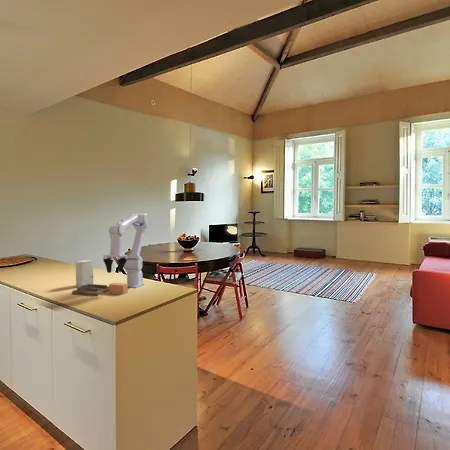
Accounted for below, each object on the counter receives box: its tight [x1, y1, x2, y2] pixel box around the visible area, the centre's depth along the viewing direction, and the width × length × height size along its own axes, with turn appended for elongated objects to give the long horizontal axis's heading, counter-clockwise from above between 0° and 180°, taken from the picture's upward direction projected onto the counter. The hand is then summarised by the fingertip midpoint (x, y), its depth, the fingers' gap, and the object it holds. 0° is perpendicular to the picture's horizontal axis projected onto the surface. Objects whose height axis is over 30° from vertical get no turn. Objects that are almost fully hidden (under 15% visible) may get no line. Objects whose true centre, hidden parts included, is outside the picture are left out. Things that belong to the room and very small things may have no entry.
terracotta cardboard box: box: [108, 282, 129, 295], centre depth 181 cm, size 4×9×5 cm, turn 73°
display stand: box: [71, 283, 109, 297], centre depth 184 cm, size 14×16×3 cm
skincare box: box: [75, 259, 94, 287], centre depth 198 cm, size 8×6×15 cm
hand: (114, 272), depth 178 cm, fingers open, 7 cm apart
